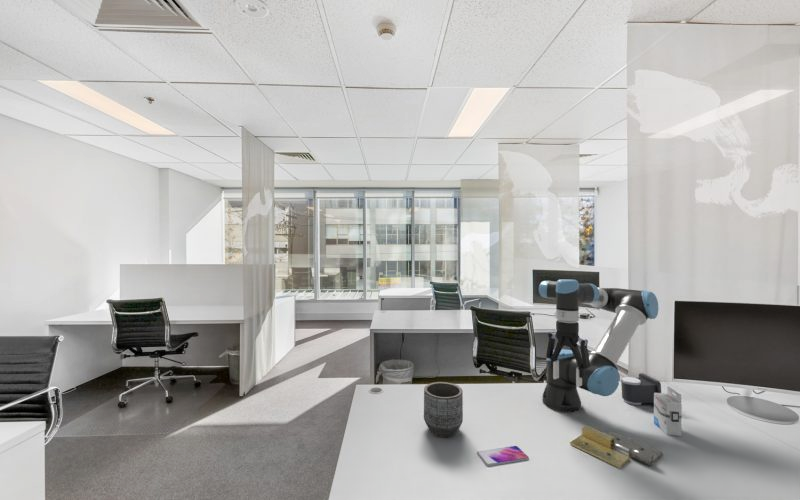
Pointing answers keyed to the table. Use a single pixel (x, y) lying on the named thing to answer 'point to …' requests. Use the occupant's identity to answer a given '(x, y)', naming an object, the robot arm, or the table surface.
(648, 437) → the table surface
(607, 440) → the brass leaf
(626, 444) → the gunmetal leaf
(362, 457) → the table surface
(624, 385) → the light fixture
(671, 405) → the ink box
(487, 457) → the smartphone
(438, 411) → the planter
